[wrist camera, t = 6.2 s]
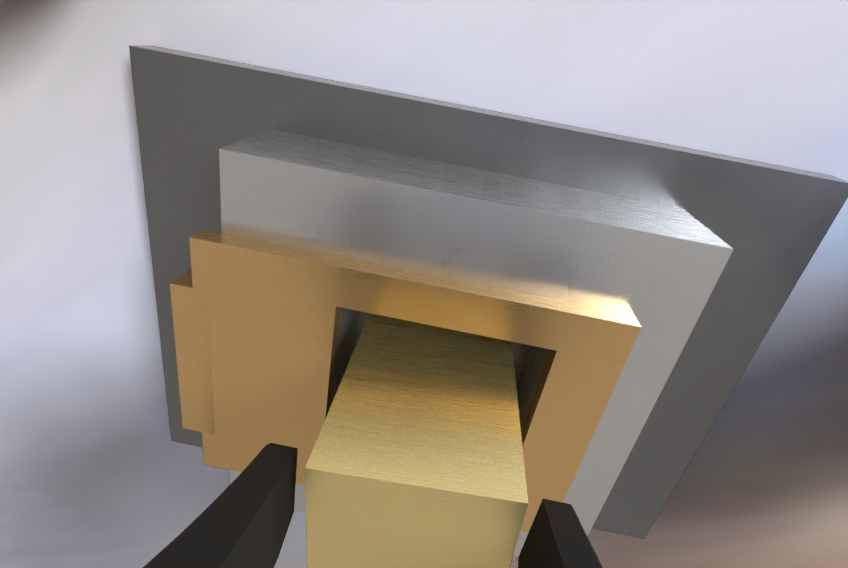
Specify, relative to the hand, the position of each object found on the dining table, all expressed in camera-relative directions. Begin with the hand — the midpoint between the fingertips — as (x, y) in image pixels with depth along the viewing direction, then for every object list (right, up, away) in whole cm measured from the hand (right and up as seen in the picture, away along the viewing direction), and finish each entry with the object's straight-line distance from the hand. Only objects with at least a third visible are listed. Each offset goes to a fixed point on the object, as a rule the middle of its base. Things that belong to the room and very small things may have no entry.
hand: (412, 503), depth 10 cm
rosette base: (+1, +3, +7) cm, 8 cm away
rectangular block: (+1, +3, +6) cm, 7 cm away
